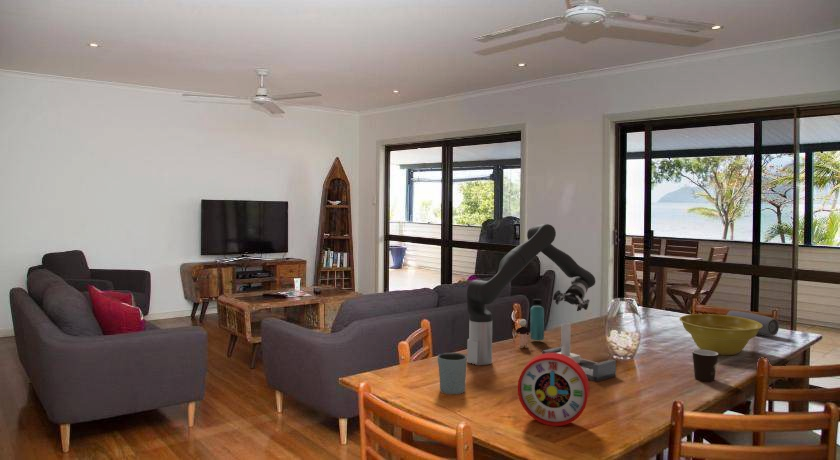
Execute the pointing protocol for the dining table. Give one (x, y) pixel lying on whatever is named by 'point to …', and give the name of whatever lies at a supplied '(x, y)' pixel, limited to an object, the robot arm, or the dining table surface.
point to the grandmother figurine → (523, 334)
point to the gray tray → (593, 367)
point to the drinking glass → (452, 372)
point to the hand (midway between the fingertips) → (567, 305)
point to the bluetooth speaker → (768, 323)
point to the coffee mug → (704, 365)
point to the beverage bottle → (537, 321)
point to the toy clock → (553, 389)
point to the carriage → (567, 343)
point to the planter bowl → (720, 332)
